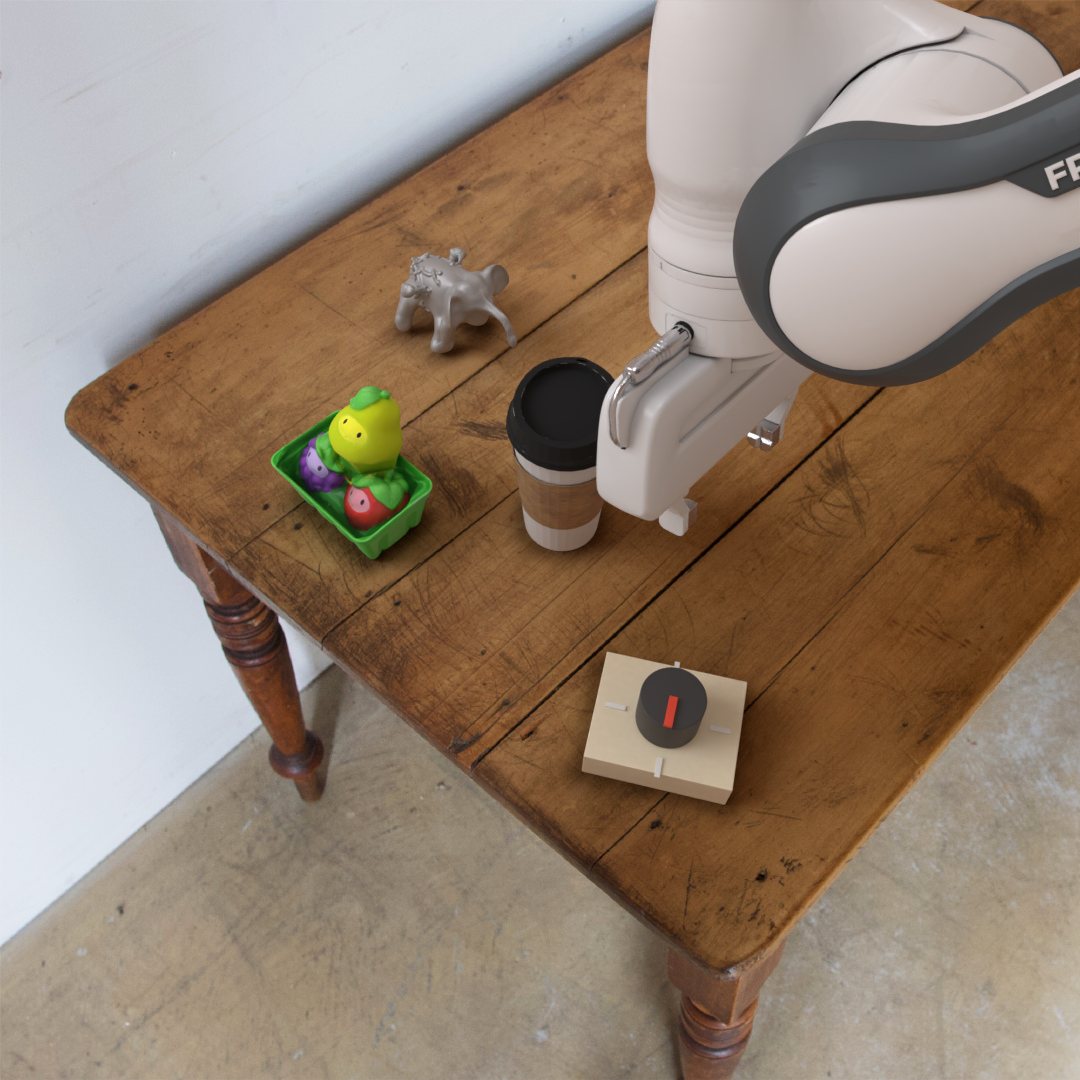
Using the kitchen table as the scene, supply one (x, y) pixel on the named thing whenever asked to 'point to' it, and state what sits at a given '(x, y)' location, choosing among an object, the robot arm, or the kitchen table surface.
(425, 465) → the kitchen table surface
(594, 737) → the panel
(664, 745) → the knob
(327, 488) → the fruit basket
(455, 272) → the gray elephant figurine
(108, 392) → the kitchen table surface
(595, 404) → the coffee cup
